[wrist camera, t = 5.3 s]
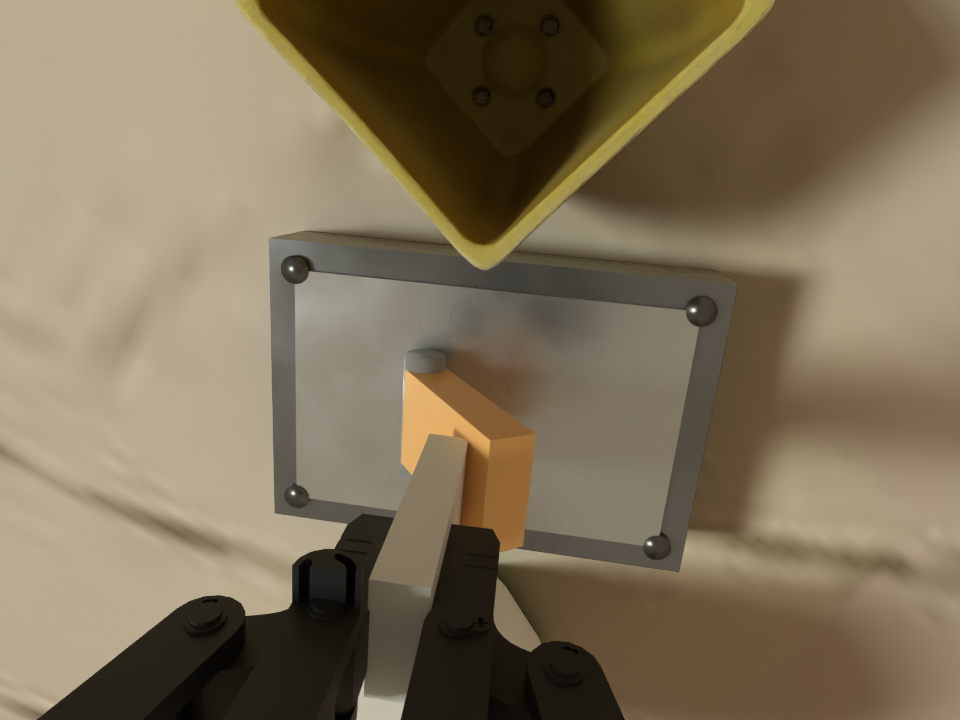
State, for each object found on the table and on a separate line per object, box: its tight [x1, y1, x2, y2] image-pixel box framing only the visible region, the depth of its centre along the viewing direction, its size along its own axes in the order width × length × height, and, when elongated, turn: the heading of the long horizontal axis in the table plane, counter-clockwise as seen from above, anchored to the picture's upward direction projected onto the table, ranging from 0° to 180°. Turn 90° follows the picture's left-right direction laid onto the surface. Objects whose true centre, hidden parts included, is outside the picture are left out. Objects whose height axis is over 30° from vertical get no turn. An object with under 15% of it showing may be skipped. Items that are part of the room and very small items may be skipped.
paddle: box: [399, 349, 536, 552], centre depth 20 cm, size 4×1×7 cm
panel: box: [269, 231, 738, 572], centre depth 24 cm, size 11×16×3 cm
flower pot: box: [234, 0, 776, 270], centre depth 18 cm, size 9×9×9 cm
